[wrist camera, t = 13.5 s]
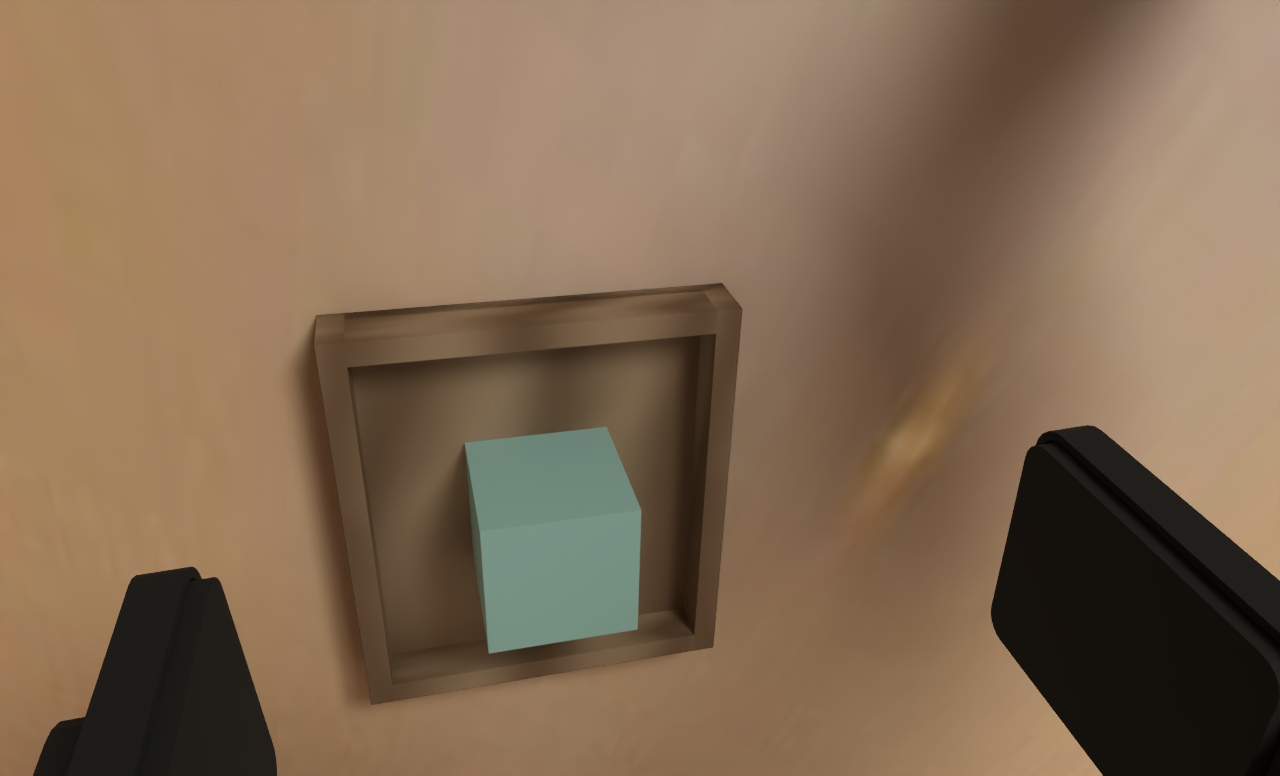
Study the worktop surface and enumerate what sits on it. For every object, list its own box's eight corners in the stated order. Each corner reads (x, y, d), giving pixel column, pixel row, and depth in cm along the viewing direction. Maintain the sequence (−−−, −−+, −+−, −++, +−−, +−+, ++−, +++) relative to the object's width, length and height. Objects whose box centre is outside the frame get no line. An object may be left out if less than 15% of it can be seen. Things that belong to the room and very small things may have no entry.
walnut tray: (721, 283, 40) (742, 308, 37) (697, 612, 48) (713, 647, 46) (316, 315, 36) (314, 345, 34) (370, 664, 45) (371, 704, 43)
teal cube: (606, 426, 41) (641, 509, 36) (605, 538, 44) (637, 629, 39) (464, 442, 40) (479, 531, 35) (473, 556, 43) (488, 653, 38)
